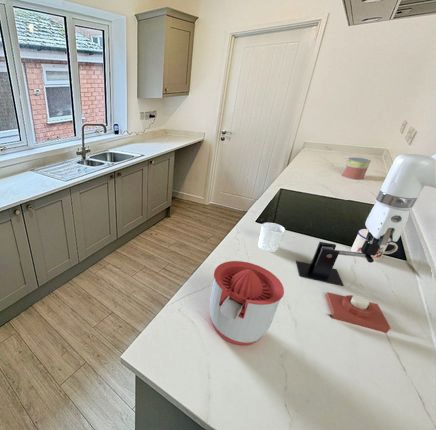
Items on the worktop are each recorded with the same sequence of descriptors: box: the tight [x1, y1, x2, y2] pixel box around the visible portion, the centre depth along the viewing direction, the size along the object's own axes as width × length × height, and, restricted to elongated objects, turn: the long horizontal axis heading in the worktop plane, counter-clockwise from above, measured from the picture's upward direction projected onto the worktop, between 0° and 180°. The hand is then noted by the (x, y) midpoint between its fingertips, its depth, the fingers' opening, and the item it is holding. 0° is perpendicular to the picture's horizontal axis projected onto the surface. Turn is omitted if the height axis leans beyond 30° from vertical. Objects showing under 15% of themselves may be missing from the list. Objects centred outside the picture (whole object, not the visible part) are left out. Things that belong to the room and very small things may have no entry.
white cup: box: [257, 222, 286, 253], centre depth 103 cm, size 8×8×10 cm
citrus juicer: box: [209, 260, 285, 347], centre depth 67 cm, size 16×17×20 cm
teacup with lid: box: [350, 228, 399, 261], centre depth 97 cm, size 12×9×12 cm
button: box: [350, 295, 370, 309], centre depth 73 cm, size 4×4×2 cm
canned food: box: [342, 157, 372, 180], centre depth 178 cm, size 11×11×12 cm
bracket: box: [295, 241, 345, 287], centre depth 88 cm, size 12×9×12 cm
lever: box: [321, 246, 375, 264], centre depth 84 cm, size 12×6×2 cm, turn 64°
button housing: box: [325, 291, 391, 334], centre depth 74 cm, size 12×9×4 cm
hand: (367, 253), depth 81 cm, fingers closed
